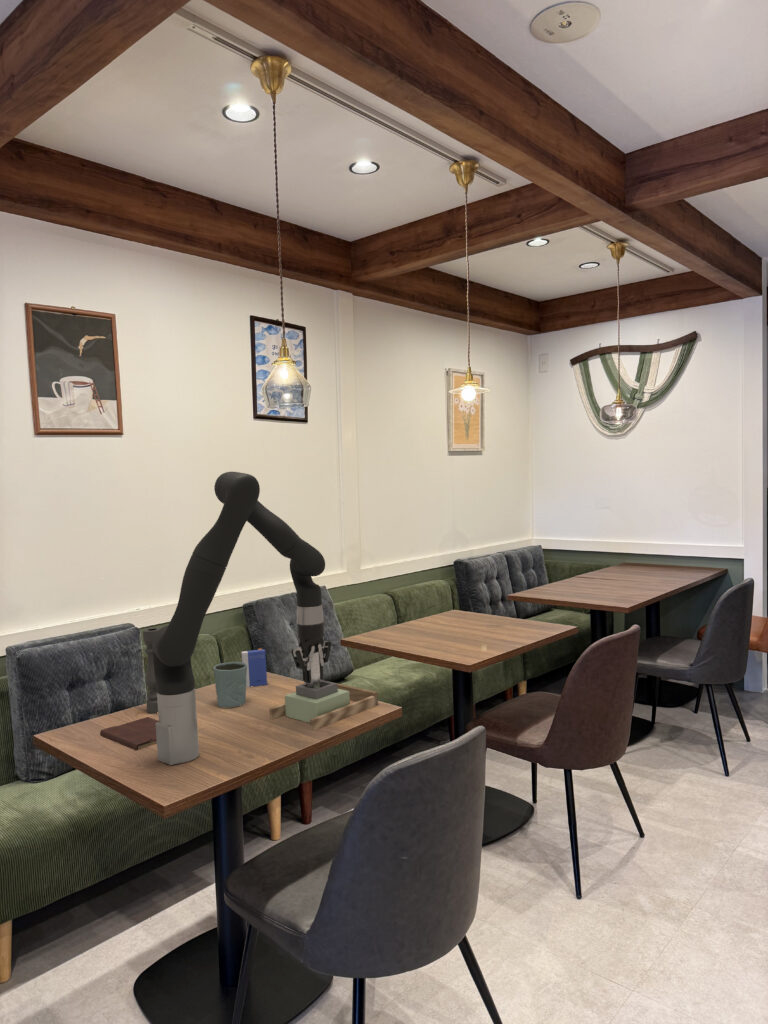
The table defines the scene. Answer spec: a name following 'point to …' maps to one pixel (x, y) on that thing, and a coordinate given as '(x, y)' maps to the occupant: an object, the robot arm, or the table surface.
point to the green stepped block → (315, 701)
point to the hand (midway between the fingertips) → (313, 680)
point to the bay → (363, 702)
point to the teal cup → (230, 683)
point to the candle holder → (150, 670)
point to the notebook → (133, 733)
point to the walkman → (255, 667)
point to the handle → (315, 672)
